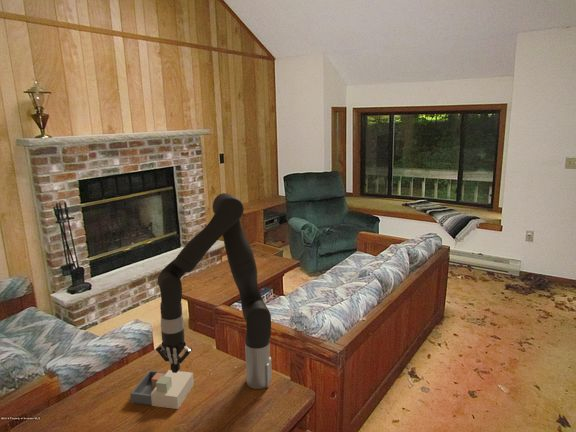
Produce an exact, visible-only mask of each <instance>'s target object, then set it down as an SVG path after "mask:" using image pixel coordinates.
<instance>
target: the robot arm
mask: <svg viewBox="0 0 576 432" xmlns="http://www.w3.org/2000/svg"><path fill="white" fill-rule="evenodd" d="M212 212H213V214H214V215H212V217H211V220H209V221H208V223H207V224H206V225H205V227H204V228H203V229H202V230H201V231H199V233H197V234H196V235H195V236H193V237H192V238H191V239H190V240H189V241H188V242H187V243H186V245H185V246H184V247H183V248H182V249H181V250H180V252H179V253H178V254H177V255H176V257H175V258H174V259H173V260H172V261H170V262H169V263H168V264H167V265H166V266H165V267H164V268H163V269H162V270H161V272H160V273H159V275H158V277H157V285H158V287H159V290H160V299H161V302H160V304H159V305H160V331H161V332H160V333H161V341H162V342H161V343H160V344H159V345H158V346H157V347H156V348H155V350H156V352H157V353H158V354H159V356H161V358H162V359H163V360H164V362H169V365H170V370H171V371H172V373H177V372H178V371H180V369H181V364H182V363H183V362H184V361H185V359H186V358H187V357H188V356H189V355H190V353H191V352H192V351H193V349H192V347H188V346H187V344H186V342H185V327H184V326H185V324H184V323H185V322H184V317H183V306H182V305H183V304H182V297H183V285H182V284H183V283H182V281H181V278H182V277H184V275H185V274H189V273H191V272H192V271H193V270H194V269H195V268H196V267H197V266H198V265H199V263H200V262H201V260H202V259H203V258H204V256H205V255H206V254H207V253H208V251H209V250H210V249H211V248H213V246H214V245H215V244H216V242H217V241H218V240H219V239H220V238H223V244H224V249H225V254H226V258H227V261H228V266H229V268H230V272H231V275H232V277H233V278H232V279H233V281H234V283H235V285H236V287H237V290H238V294H239V299H240V303H241V309H242V310H241V311H242V315H243V318H244V320H245V323H246V325H245V326H246V334H245V336H244V344H245V346H244V350H245V372H246V373H245V374H246V377H245V379H246V384H247V386H248V387H249V388H250V389H254V390H261V389H265V388H269V387H270V384H271V382H272V375H273V374H272V371H273V370H272V357H271V351H270V344H271V343H270V340H271V336H272V316H271V315H272V314H271V312H270V310H269V308H268V306H267V305H266V303H265V301H264V300H263V297H262V295H261V292H260V288H259V285H258V269H257V268H258V267H257V263H256V260H255V255H254V252H253V249H252V248H251V247H252V246H251V245H250V243H249V240H248V239H247V237H246V235H245V232H244V230H243V227H242V225H241V220H240V219H241V218H242V216H243V214H244V205H243V203H242V201H241V200H240V199H239V198H237V197H236V196H235V195H232V194H230V193H226V192H225V193H224V192H223V193H220V194H218V195H216V197H215V198H214V199H213V202H212ZM182 352H183V354H182ZM181 354H182V356H181Z"/></svg>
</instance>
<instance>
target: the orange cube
mask: <svg viewBox="0 0 576 432" xmlns="http://www.w3.org/2000/svg"><path fill="white" fill-rule="evenodd" d="M164 375H165V373H156V374H155V375H154V377H153V378H152V388H155V387H156V382H157V381H158V379H159V378H160V377H161V376H164Z"/></svg>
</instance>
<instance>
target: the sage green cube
mask: <svg viewBox="0 0 576 432" xmlns="http://www.w3.org/2000/svg"><path fill="white" fill-rule="evenodd" d="M171 387H172V378H171V377H166V376H161V377H160V378H159V379H158V381H157V382H156V389H157V391H158V392H166V393H167V392H168V391H169V389H170V388H171Z"/></svg>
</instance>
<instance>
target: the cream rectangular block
mask: <svg viewBox="0 0 576 432" xmlns="http://www.w3.org/2000/svg"><path fill="white" fill-rule="evenodd" d="M166 372H167V373H166V374H165V375H164V376H166V377H171V378H172V387H171V388H170V389H169V391H168V392H167V393H166V392H158V391H157V389H156V387H155V389H154V390H153V391H152V393H151V401H152V406H153V407H159V408H166V409H174V410H179V408H181V405H182V404H183V402H184V401H185V399H186V397H187V396H188V395H189V393H190V391H191V389H192V388H193V387H194V384H195V381H194V379H195V378H194V372H189V371H180V370H179V371H178V372H177V373H172V371H171V369H168V370H167V371H166Z"/></svg>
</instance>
